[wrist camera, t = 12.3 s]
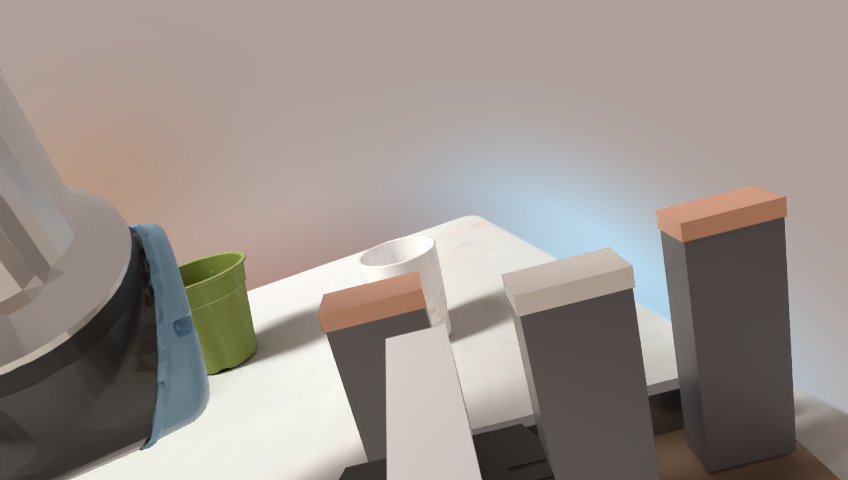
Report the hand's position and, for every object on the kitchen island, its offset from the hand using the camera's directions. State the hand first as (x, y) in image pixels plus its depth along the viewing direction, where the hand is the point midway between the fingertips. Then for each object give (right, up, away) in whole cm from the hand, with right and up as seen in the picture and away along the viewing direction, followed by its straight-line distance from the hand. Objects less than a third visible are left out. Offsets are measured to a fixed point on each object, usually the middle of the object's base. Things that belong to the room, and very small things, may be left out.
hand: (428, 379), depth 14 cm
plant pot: (-23, -11, +52) cm, 58 cm away
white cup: (0, -7, +45) cm, 46 cm away
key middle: (+10, -12, +16) cm, 22 cm away
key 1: (+18, -9, +19) cm, 28 cm away
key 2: (+1, -13, +19) cm, 23 cm away
